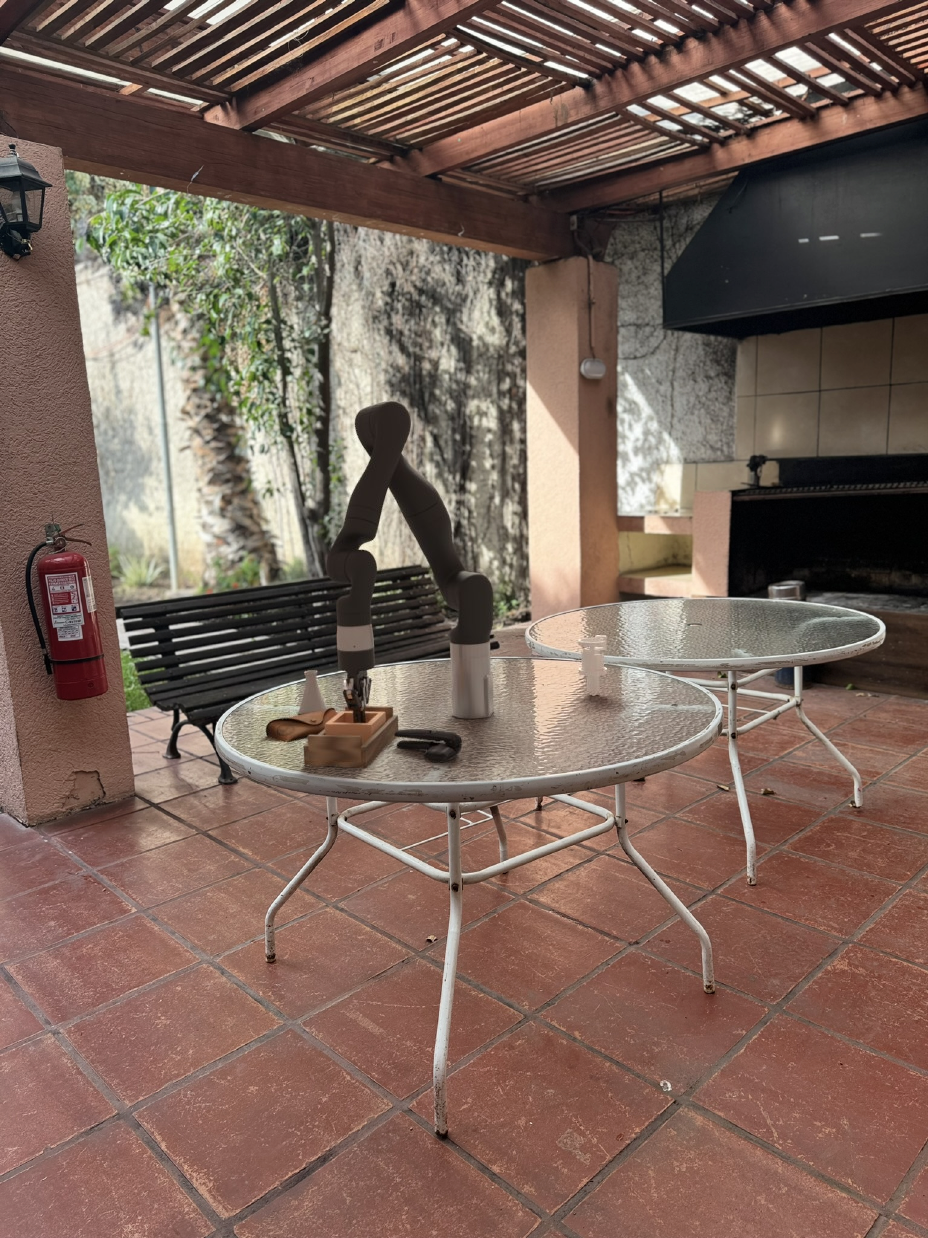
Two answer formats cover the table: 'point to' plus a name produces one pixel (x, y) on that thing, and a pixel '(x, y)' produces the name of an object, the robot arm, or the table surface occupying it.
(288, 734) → the sunglasses case
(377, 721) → the box
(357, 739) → the bay
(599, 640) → the white plastic upright piece
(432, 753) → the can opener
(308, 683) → the flask
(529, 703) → the table surface
